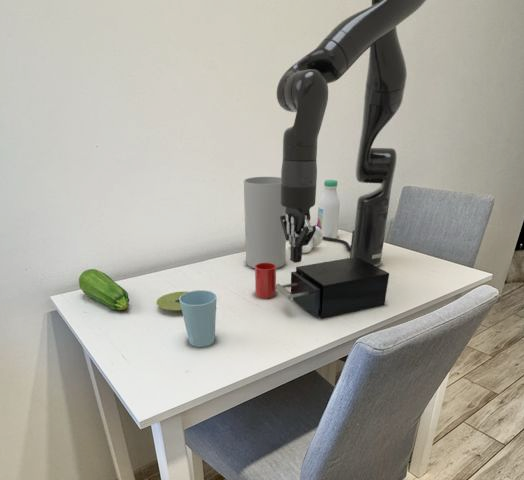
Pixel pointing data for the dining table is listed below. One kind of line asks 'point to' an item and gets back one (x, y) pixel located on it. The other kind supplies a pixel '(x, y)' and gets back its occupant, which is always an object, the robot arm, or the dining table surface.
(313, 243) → the white knot sculpture
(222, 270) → the dining table surface
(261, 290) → the red tumbler
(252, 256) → the cylinder vase
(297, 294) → the dish drawer
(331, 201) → the milk bottle
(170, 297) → the mat
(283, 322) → the dining table surface
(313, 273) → the black drawer casing
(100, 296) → the vegetable
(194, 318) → the cup
